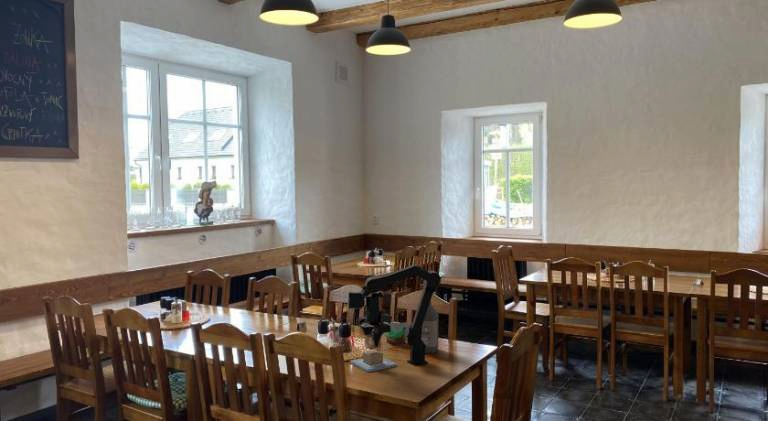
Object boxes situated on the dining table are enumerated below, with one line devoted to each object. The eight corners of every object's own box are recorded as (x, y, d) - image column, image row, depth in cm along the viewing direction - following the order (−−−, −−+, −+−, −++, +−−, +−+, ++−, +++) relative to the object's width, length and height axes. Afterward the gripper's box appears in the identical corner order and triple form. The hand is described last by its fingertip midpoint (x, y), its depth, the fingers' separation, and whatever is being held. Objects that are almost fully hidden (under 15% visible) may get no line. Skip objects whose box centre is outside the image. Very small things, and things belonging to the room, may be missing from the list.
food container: (379, 342, 283) (379, 321, 283) (385, 339, 289) (385, 319, 288) (402, 346, 278) (402, 324, 277) (408, 343, 283) (408, 321, 282)
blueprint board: (396, 366, 249) (396, 354, 249) (367, 372, 242) (367, 360, 241) (378, 357, 261) (378, 346, 261) (350, 363, 253) (349, 351, 253)
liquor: (436, 353, 266) (436, 286, 264) (415, 352, 268) (415, 285, 266) (438, 347, 275) (438, 282, 273) (418, 346, 277) (418, 281, 275)
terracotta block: (381, 348, 250) (381, 336, 250) (371, 350, 247) (371, 337, 247) (375, 345, 254) (374, 333, 254) (364, 347, 252) (364, 335, 251)
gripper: (401, 309, 246) (401, 347, 247) (377, 301, 262) (377, 337, 263) (378, 313, 240) (378, 351, 241) (355, 304, 256) (355, 341, 257)
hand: (373, 345), depth 251 cm, fingers closed on terracotta block, 5 cm apart
